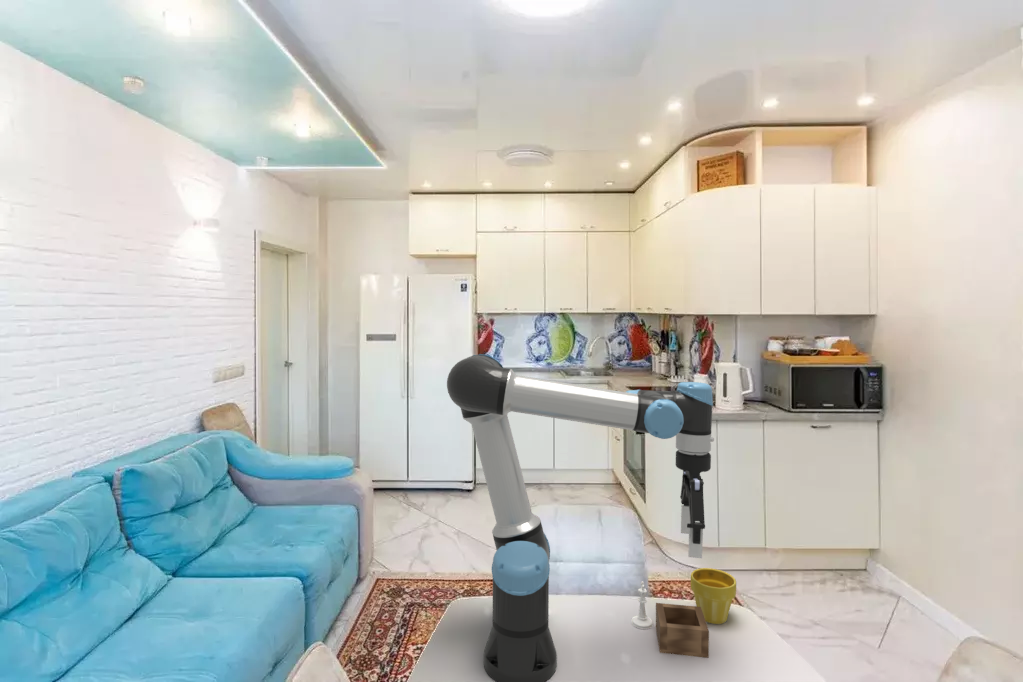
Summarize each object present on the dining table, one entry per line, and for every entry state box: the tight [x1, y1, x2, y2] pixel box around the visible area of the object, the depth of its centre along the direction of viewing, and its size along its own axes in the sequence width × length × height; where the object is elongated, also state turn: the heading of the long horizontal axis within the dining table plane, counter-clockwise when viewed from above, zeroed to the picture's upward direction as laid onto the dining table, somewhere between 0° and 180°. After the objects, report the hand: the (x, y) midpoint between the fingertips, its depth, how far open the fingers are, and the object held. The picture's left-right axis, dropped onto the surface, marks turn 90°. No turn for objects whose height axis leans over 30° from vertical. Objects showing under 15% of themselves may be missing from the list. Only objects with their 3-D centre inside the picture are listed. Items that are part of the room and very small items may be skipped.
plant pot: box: [690, 567, 737, 625], centre depth 130 cm, size 10×10×10 cm
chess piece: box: [631, 580, 654, 630], centre depth 127 cm, size 5×5×10 cm
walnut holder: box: [655, 602, 710, 659], centre depth 120 cm, size 10×10×6 cm
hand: (690, 544), depth 122 cm, fingers open, 13 cm apart
